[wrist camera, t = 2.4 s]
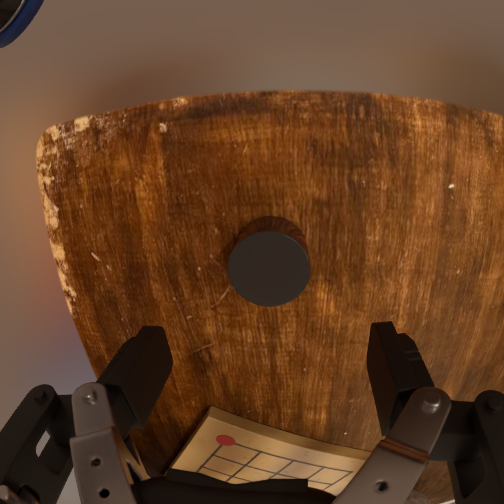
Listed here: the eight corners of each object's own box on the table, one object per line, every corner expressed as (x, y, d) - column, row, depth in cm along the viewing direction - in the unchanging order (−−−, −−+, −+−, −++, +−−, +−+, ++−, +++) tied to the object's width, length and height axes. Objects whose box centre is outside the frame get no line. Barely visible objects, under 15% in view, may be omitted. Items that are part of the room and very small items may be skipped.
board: (163, 474, 36) (160, 482, 34) (210, 405, 27) (207, 417, 26) (292, 510, 37) (292, 517, 36) (384, 453, 29) (386, 464, 27)
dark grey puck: (225, 264, 22) (215, 286, 19) (254, 203, 20) (248, 216, 17) (287, 293, 22) (286, 318, 19) (320, 236, 20) (325, 254, 17)
